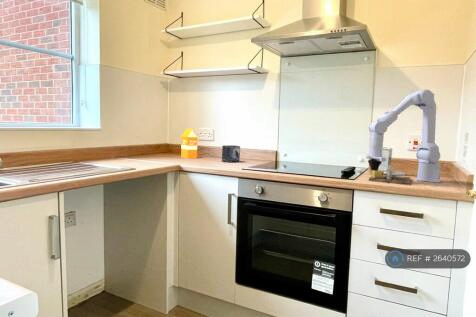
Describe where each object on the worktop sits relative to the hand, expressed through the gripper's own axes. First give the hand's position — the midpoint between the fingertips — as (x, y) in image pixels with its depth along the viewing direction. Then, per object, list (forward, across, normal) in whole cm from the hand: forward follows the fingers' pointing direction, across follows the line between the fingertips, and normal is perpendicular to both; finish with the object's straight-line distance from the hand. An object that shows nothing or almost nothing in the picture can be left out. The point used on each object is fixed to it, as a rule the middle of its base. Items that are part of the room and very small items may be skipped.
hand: (373, 174), depth 155 cm
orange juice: (+3, -81, -92) cm, 123 cm away
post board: (+2, 0, +8) cm, 9 cm away
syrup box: (+2, -21, +17) cm, 27 cm away
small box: (+3, -62, -64) cm, 89 cm away
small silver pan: (+1, +1, +6) cm, 6 cm away
